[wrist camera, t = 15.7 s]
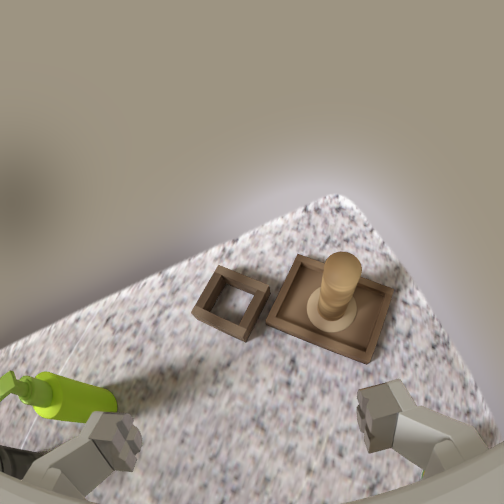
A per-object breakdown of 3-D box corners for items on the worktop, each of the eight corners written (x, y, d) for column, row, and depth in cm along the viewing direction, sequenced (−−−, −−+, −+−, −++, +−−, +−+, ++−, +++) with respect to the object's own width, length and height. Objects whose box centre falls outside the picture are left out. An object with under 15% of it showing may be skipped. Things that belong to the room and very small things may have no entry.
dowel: (349, 299, 42) (366, 258, 32) (339, 325, 41) (354, 291, 31) (323, 290, 44) (331, 246, 33) (312, 314, 42) (318, 278, 32)
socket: (270, 293, 46) (269, 285, 43) (245, 342, 42) (242, 337, 40) (222, 273, 48) (218, 264, 46) (197, 319, 45) (190, 312, 42)
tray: (390, 294, 43) (394, 289, 41) (366, 364, 39) (369, 361, 37) (297, 260, 48) (297, 253, 46) (266, 324, 43) (265, 320, 42)
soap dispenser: (77, 402, 40) (-19, 376, 23) (106, 381, 41) (12, 346, 24) (93, 433, 37) (-5, 422, 20) (124, 413, 39) (28, 396, 21)
